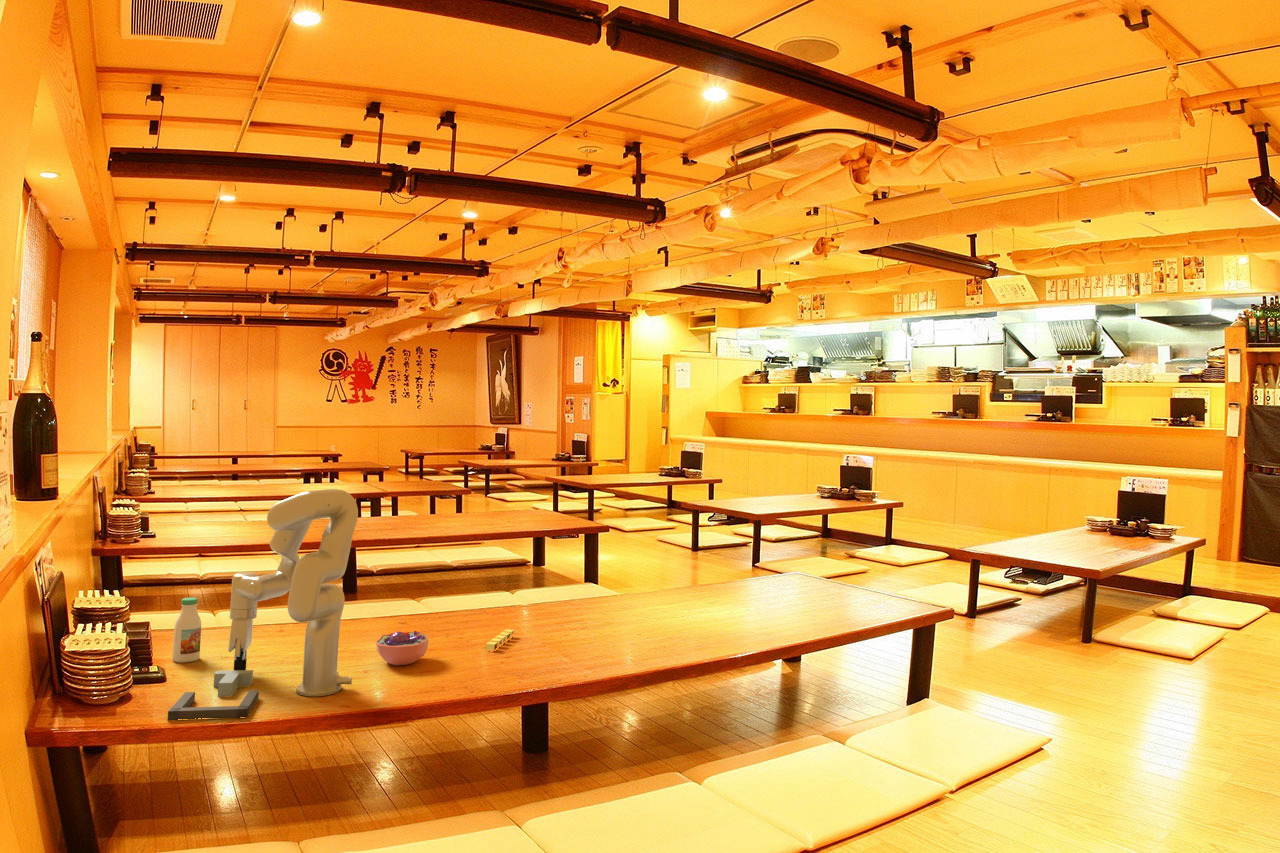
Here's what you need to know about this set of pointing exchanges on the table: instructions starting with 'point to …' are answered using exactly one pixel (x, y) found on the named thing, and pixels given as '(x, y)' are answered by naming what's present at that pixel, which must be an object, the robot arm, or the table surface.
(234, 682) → the t block
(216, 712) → the corral
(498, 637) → the yellow segmented bar
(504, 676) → the table surface
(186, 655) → the milk bottle
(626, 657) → the table surface
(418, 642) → the cell model
